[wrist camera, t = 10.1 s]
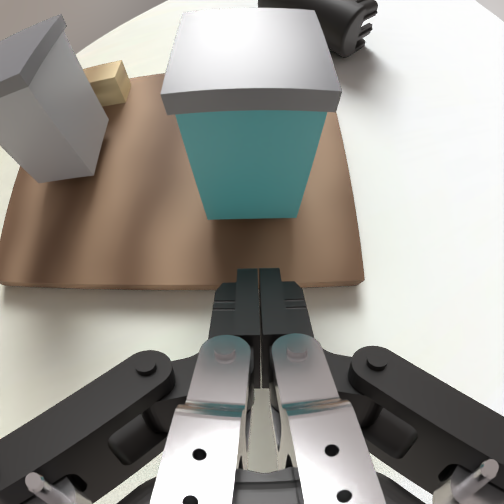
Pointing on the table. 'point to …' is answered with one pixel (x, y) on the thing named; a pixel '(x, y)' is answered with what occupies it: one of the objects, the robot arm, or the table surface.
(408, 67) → the table surface
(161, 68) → the table surface
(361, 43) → the end cap
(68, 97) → the grey key
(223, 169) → the teal key
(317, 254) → the key base
